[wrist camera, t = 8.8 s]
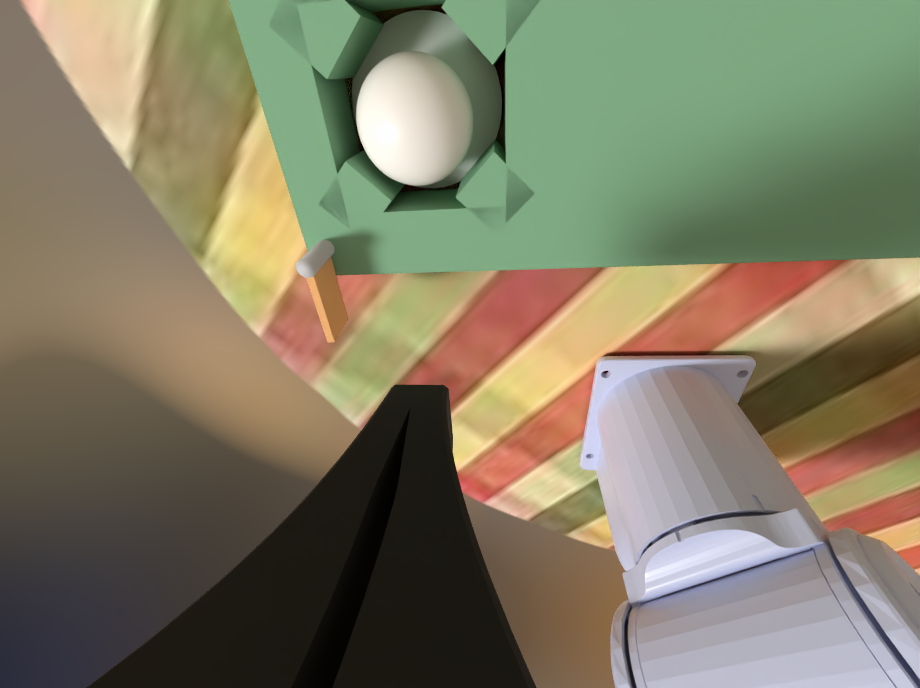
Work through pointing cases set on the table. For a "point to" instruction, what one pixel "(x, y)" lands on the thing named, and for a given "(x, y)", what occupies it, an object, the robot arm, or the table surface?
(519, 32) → the green board with hole
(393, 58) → the ball
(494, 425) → the table surface
